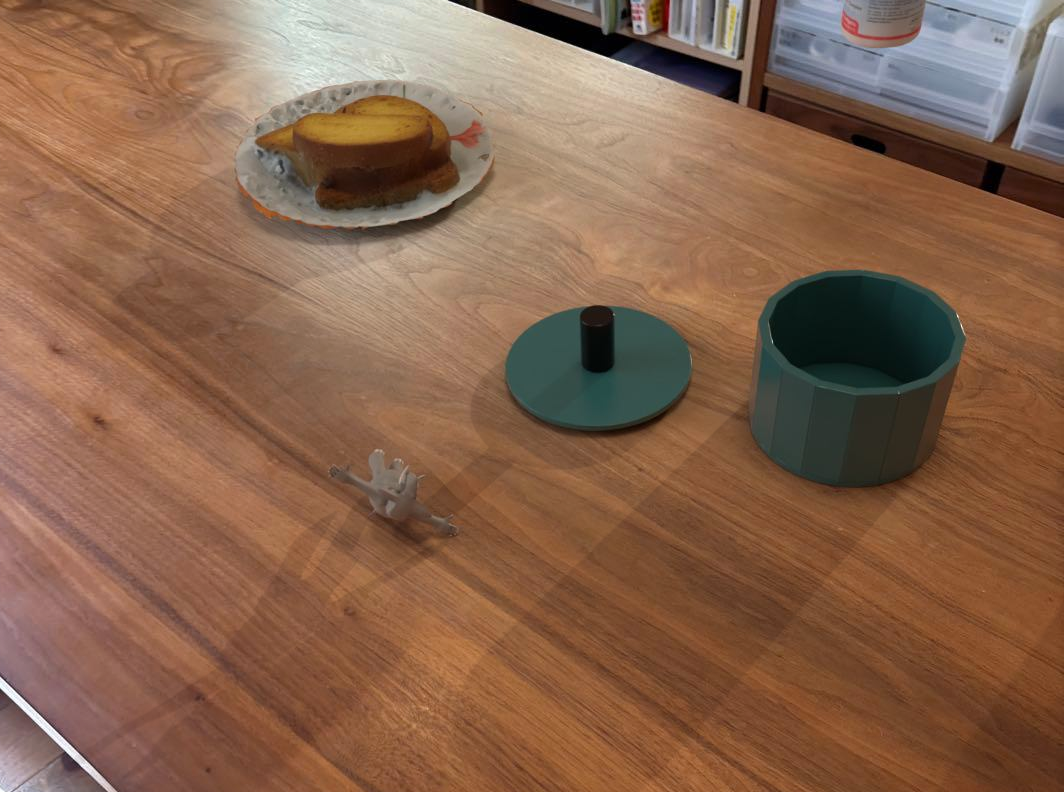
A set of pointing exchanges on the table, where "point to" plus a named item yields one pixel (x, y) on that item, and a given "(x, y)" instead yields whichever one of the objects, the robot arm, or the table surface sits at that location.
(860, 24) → the pill bottle
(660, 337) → the lid
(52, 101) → the table surface
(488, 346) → the table surface
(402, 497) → the grey monster figurine
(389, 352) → the table surface
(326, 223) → the food on plate
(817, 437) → the pot
